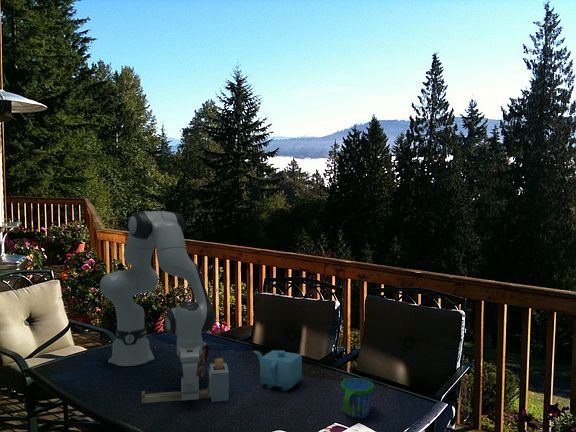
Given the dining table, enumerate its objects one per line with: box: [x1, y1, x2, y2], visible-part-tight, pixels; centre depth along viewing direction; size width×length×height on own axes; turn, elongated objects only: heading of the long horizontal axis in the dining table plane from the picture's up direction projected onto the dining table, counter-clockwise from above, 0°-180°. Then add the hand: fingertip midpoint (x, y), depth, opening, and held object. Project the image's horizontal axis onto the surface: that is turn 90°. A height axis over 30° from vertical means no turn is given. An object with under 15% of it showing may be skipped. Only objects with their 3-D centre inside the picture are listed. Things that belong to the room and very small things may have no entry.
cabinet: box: [208, 362, 230, 403], centre depth 186 cm, size 10×6×10 cm, turn 11°
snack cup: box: [340, 377, 375, 419], centre depth 171 cm, size 16×10×10 cm
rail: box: [141, 386, 211, 404], centre depth 184 cm, size 3×24×3 cm, turn 101°
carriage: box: [180, 376, 200, 401], centre depth 185 cm, size 5×6×6 cm
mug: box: [197, 340, 210, 382], centre depth 205 cm, size 13×9×14 cm
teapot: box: [252, 350, 303, 392], centre depth 197 cm, size 18×16×13 cm
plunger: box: [214, 357, 224, 370], centre depth 186 cm, size 3×3×5 cm
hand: (190, 387), depth 185 cm, fingers closed on carriage, 5 cm apart
